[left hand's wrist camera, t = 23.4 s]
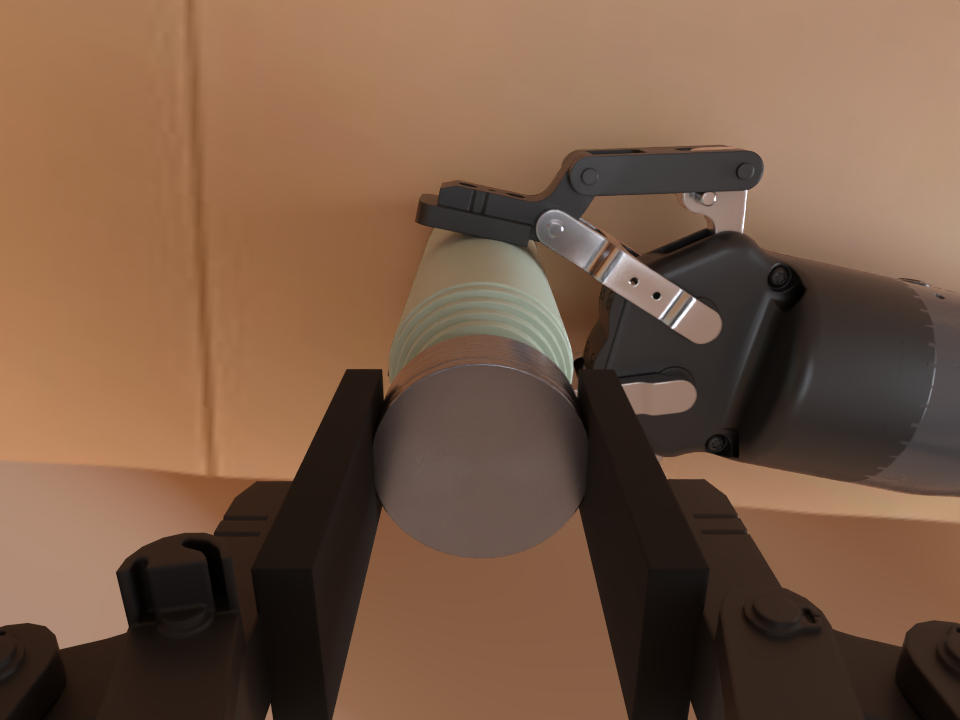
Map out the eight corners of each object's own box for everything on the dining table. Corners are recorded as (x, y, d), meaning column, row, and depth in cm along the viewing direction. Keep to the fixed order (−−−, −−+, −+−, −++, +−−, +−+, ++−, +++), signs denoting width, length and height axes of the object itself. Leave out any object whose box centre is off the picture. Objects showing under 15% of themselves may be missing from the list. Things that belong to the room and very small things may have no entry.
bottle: (499, 329, 31) (519, 576, 15) (406, 278, 30) (324, 482, 14) (557, 238, 30) (644, 407, 14) (460, 180, 29) (434, 290, 13)
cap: (584, 504, 16) (596, 550, 14) (395, 519, 16) (386, 566, 14) (577, 323, 14) (589, 353, 12) (366, 342, 14) (352, 374, 13)
